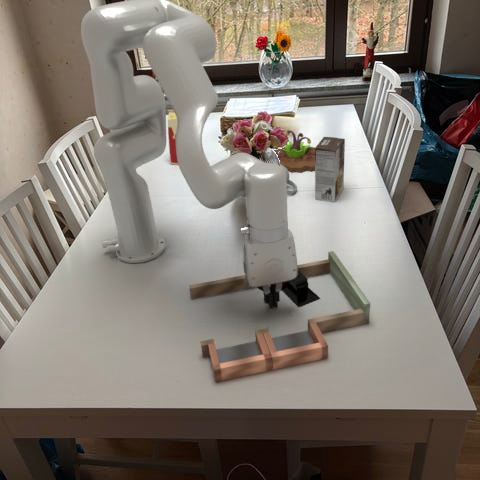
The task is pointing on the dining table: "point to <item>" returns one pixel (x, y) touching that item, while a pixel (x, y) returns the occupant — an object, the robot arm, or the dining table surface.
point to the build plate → (299, 291)
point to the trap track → (288, 346)
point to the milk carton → (172, 136)
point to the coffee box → (329, 168)
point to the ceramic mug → (289, 182)
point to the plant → (297, 155)
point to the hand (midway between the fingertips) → (271, 304)
